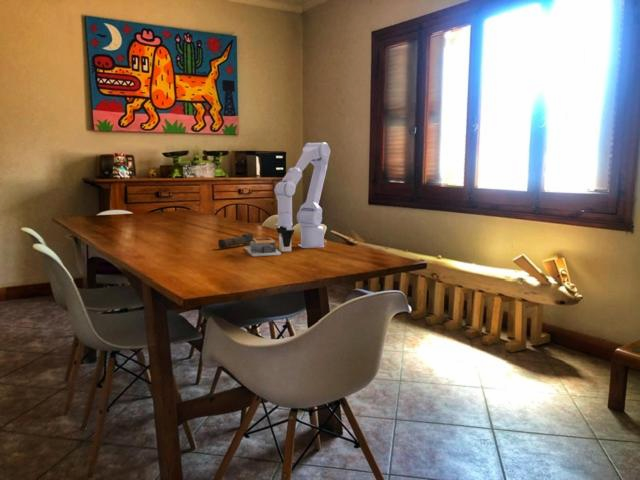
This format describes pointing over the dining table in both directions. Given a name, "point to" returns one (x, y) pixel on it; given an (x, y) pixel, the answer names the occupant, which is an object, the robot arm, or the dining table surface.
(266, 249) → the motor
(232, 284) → the dining table surface
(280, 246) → the block
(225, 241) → the hand tool
